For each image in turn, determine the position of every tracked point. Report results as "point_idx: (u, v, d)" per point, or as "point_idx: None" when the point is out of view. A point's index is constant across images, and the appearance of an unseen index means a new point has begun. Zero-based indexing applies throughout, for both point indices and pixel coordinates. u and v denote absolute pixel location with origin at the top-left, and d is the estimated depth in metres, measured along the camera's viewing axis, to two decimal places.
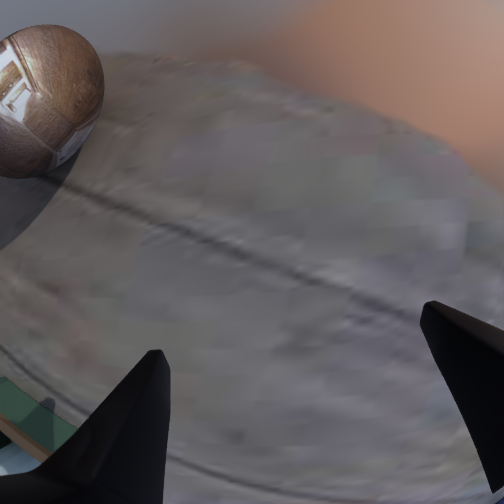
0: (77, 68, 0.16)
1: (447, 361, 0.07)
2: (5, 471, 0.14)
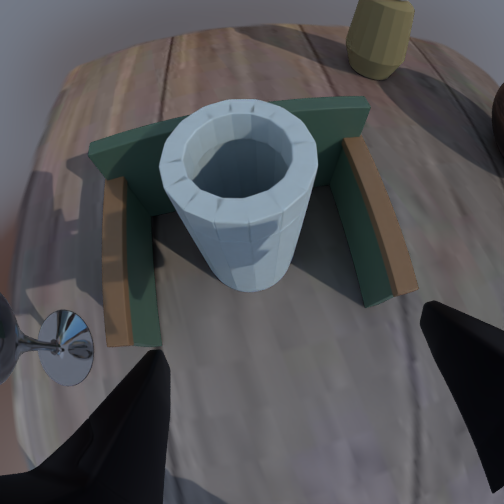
0: None
1: (447, 361, 0.07)
2: None
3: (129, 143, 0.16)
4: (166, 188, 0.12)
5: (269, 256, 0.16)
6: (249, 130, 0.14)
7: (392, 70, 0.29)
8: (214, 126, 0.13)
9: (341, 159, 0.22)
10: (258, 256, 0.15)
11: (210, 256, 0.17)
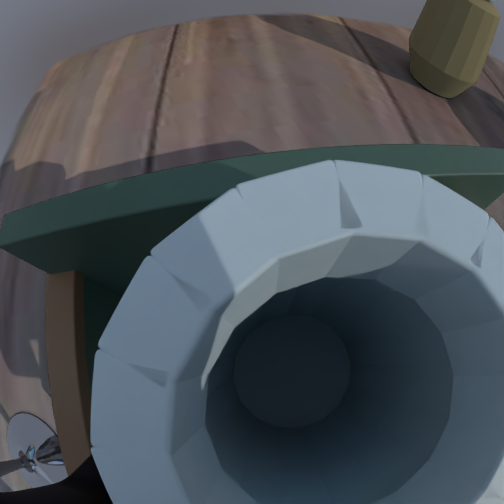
0: None
1: None
2: None
3: (61, 230, 0.07)
4: None
5: None
6: (380, 266, 0.05)
7: (466, 88, 0.19)
8: (280, 270, 0.04)
9: None
10: None
11: None
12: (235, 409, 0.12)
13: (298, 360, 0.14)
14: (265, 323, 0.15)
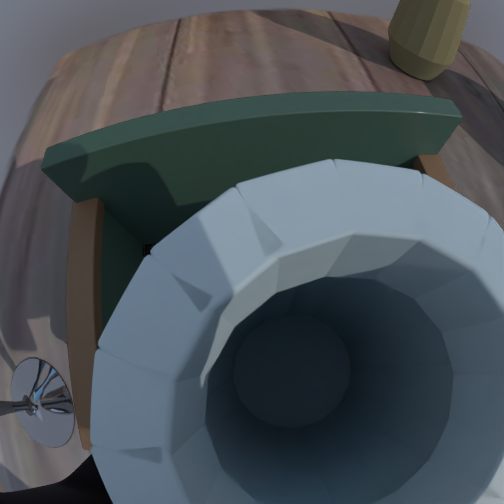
0: None
1: None
2: None
3: (99, 149, 0.10)
4: None
5: None
6: (379, 266, 0.05)
7: (441, 70, 0.22)
8: (281, 270, 0.04)
9: None
10: None
11: None
12: (235, 409, 0.12)
13: (298, 360, 0.14)
14: (265, 323, 0.15)
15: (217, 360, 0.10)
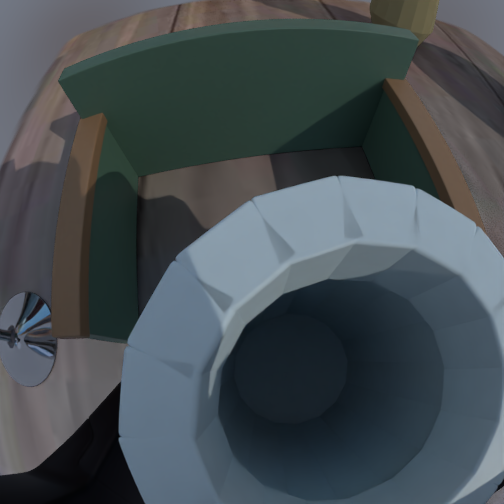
0: None
1: None
2: None
3: (109, 60, 0.10)
4: None
5: None
6: (376, 270, 0.05)
7: (420, 40, 0.23)
8: (290, 274, 0.04)
9: (381, 108, 0.16)
10: None
11: None
12: (237, 405, 0.12)
13: (297, 358, 0.15)
14: (264, 322, 0.16)
15: None
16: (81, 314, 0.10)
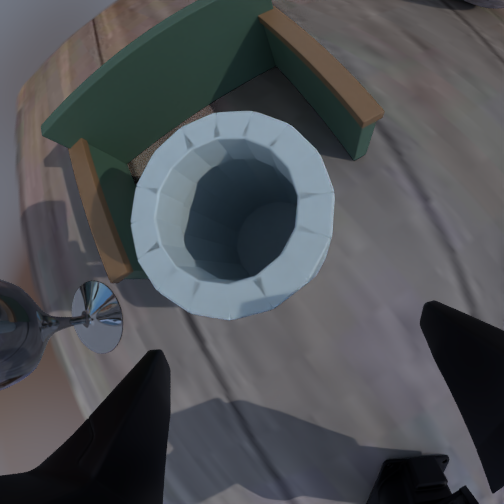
0: None
1: (447, 361, 0.07)
2: None
3: (69, 107, 0.16)
4: (159, 289, 0.10)
5: None
6: (225, 153, 0.11)
7: None
8: (179, 172, 0.10)
9: (268, 35, 0.18)
10: None
11: None
12: (243, 278, 0.19)
13: (279, 234, 0.21)
14: (247, 218, 0.22)
15: (210, 242, 0.17)
16: (123, 259, 0.17)
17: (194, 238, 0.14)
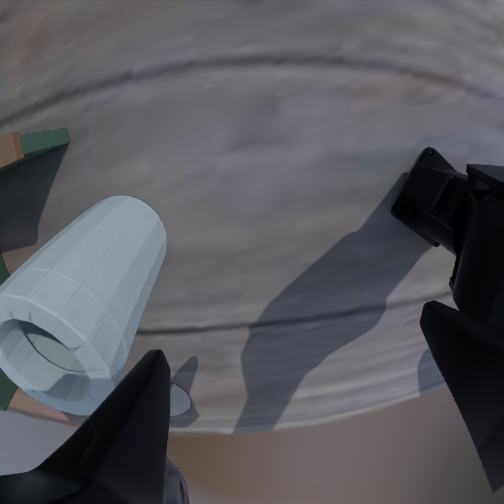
0: None
1: (447, 361, 0.07)
2: (75, 237, 0.12)
3: None
4: None
5: (130, 280, 0.13)
6: (12, 330, 0.10)
7: None
8: (22, 367, 0.10)
9: None
10: (132, 298, 0.13)
11: None
12: None
13: None
14: None
15: None
16: None
17: None
